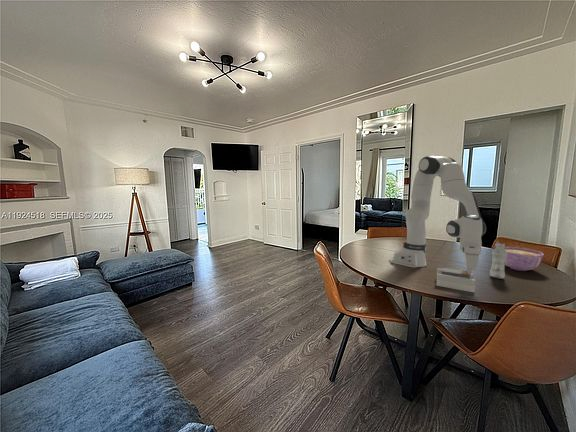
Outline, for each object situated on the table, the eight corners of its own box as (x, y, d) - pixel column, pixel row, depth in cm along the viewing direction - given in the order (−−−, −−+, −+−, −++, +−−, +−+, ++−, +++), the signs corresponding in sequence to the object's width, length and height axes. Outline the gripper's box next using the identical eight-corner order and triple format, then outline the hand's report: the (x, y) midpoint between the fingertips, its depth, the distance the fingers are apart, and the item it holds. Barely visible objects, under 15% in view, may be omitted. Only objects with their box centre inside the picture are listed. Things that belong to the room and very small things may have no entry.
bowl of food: (551, 275, 137) (554, 256, 135) (511, 273, 141) (513, 254, 139) (524, 264, 156) (526, 247, 155) (489, 262, 160) (491, 246, 159)
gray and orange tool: (441, 273, 126) (441, 270, 126) (441, 270, 131) (441, 267, 131) (469, 278, 120) (470, 275, 120) (468, 274, 125) (468, 271, 125)
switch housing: (436, 285, 126) (437, 274, 125) (436, 277, 136) (437, 267, 135) (474, 292, 117) (475, 281, 116) (471, 283, 127) (472, 273, 126)
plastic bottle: (496, 275, 138) (499, 242, 136) (507, 279, 132) (512, 244, 129) (486, 275, 138) (489, 242, 135) (497, 280, 131) (501, 245, 129)
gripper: (460, 242, 131) (459, 266, 133) (464, 250, 114) (463, 278, 115) (475, 243, 128) (473, 268, 129) (481, 252, 111) (479, 280, 112)
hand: (468, 273), depth 122 cm, fingers closed, pressing on gray and orange tool
